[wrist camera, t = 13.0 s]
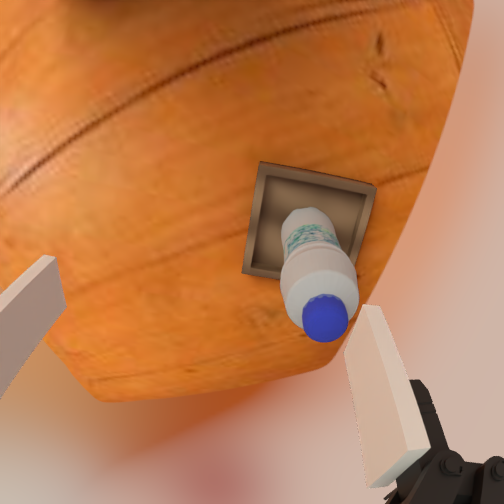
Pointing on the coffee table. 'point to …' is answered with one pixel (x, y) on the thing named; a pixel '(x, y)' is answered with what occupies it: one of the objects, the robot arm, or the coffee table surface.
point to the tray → (297, 197)
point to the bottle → (317, 276)
